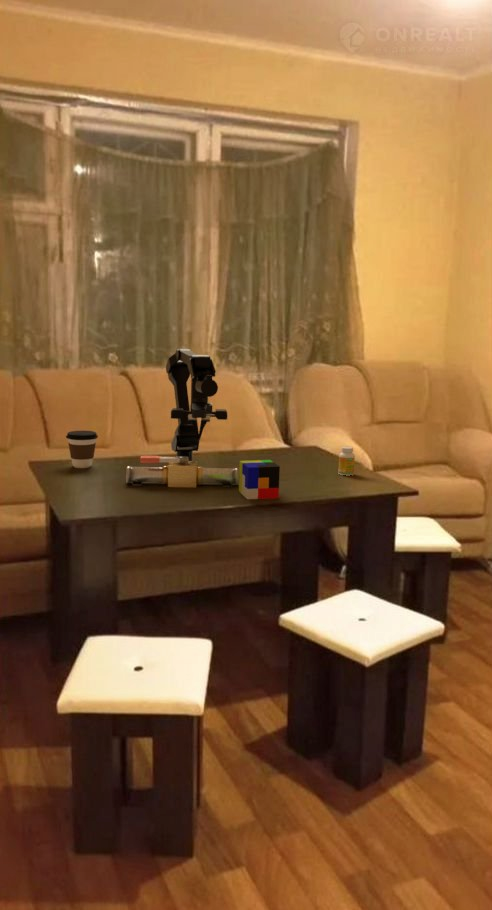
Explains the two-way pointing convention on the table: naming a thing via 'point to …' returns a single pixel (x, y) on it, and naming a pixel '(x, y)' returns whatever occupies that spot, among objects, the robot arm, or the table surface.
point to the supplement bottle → (346, 461)
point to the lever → (163, 459)
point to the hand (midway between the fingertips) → (198, 439)
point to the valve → (182, 475)
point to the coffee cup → (82, 447)
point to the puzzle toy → (259, 479)
